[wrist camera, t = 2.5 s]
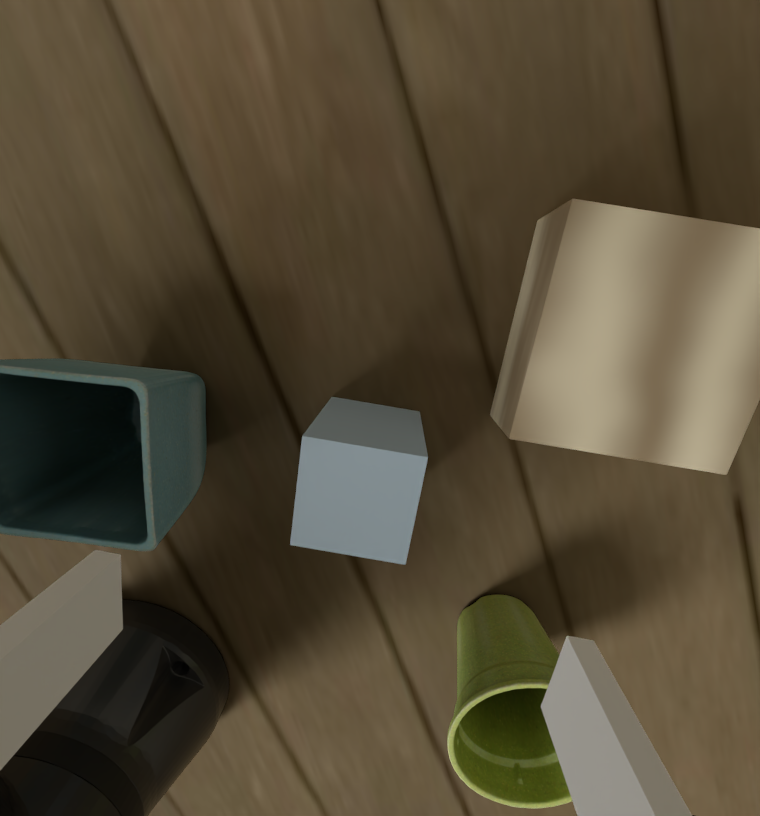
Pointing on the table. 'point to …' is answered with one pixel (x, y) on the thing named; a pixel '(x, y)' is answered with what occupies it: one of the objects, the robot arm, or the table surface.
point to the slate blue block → (360, 480)
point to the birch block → (635, 337)
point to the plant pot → (505, 706)
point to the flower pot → (98, 450)
